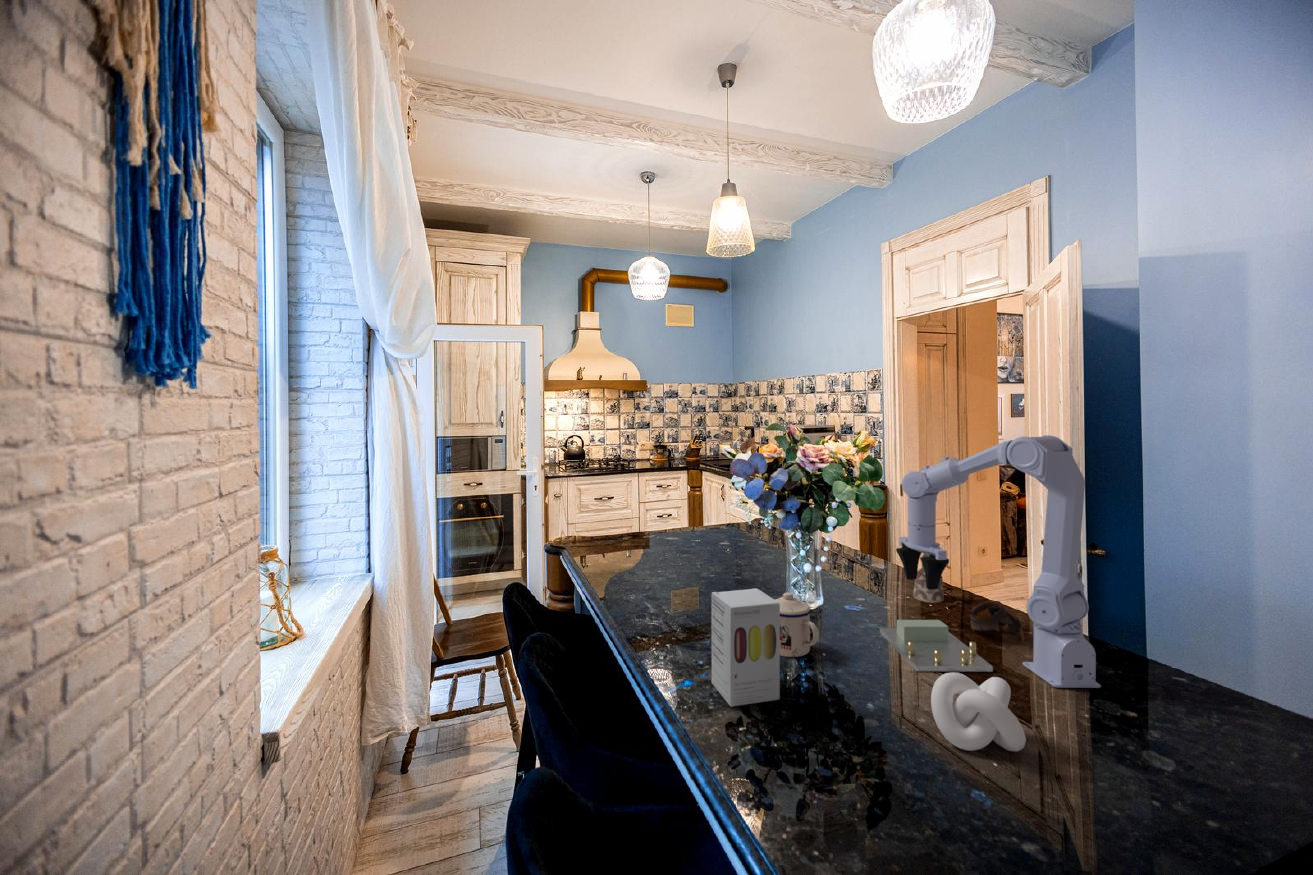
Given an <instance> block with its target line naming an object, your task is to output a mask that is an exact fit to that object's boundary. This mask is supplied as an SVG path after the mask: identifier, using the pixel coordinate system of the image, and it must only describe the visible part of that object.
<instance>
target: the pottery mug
mask: <svg viewBox="0 0 1313 875" xmlns="http://www.w3.org/2000/svg"><path fill="white" fill-rule="evenodd" d="M985 610H987V612H988V613H989V615H990V616H987V617H983V618H982V617H981V618H979V617H978V618H977V617H976V616H977V615H978V614H980V613H981V612H983V611H985ZM970 613H971V614H969V619H970V629H971V631H972V632H976V631H980V632H983V631H990V630H993V631H996V632H1000V628H999V626H1000V627H1004V626H1006V625H1007V627H1008V631H1009V632H1010V633H1016V634H1018V635H1019V636H1020V640H1021V642H1025V639H1026V637H1025V635H1024V629H1023V627H1022V622H1021V621H1020V619H1019V617H1018V615H1017V614H1016V613H1015V612H1014V611H1013V610H1011V609H1010V608H1009V607H1006V606H1005V605H1004V604H1003V603H1002V602H1001V601H999V600H988V601H987V600H986V601H984V602H981V603H979V604H976V606H974V607H973V608H972V609H971V610H970Z"/></svg>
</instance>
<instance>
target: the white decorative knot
mask: <svg viewBox="0 0 1313 875" xmlns="http://www.w3.org/2000/svg"><path fill="white" fill-rule="evenodd" d="M1011 693H1012V692H1011V687H1010V685H1009V683H1008V682H1007V680H1005V679H1003V678H1002V677H999V676H992V677H990V678H987V680H984V682H982V683H981V684H980V685H978V684H977V683H976V682H975V681H973V680H972V679H971V678H969V677H968V676H967V675H965V674H963V673H960V672H945V673H944V674H942V675H940V676H939V677H938V678H937V679H936V680H935V682H934V684H933V687H932V690H931V697H930V705H931V712H932V716H933V719H934V721H935V724H936V726H937V728H938V730H939V731H940V733H941V734H942V735H943V737H944V738H945V739H946V740H947V741H948V742H949V743H950V744H951V745H953V746H954V747H956V748H959V749H960V750H964V751H967V752H968V751H971V752H973V751H978V750H981V749H984V748H985V747H987V746H988V745H989V744H990V743H991V742H992V741H994V743H996V745H998V746H1000V747H1001V748H1003V749H1004V750H1006V751H1008V752H1019V751H1021V750H1022V749H1024V748H1025V744H1026V742H1027V738H1026V735H1025V734H1026V733H1025V731H1024V728H1023V727H1022V724H1021V723H1020V721H1019V719H1018V718H1017V716H1015V715H1014V713H1013V711H1012V710H1011V709H1009V707H1008V706H1009V703H1010V700H1011V695H1012V694H1011ZM957 694H958V695H959V696H958V697H957V698H956V700H955V701H954V698H955V696H956V695H957ZM953 702H954V703H953Z"/></svg>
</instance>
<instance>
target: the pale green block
mask: <svg viewBox="0 0 1313 875" xmlns="http://www.w3.org/2000/svg"><path fill="white" fill-rule="evenodd" d="M896 628H897V634H898V635H899V636H900V637H901V638H902V639H903V640H904V641H948V632H949V626H948V625H947V624H946V623H944V622H943V621H941V620H940V619H897V620H896Z"/></svg>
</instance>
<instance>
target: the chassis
mask: <svg viewBox="0 0 1313 875" xmlns="http://www.w3.org/2000/svg"><path fill="white" fill-rule="evenodd" d="M879 633H880V634H881V635H882V637H883V638H884V639H885V640H886V641H887V642H888V643H889V644H890V645H891V646H892V648H894V649H895V651H897V652H898V654H899V655H900V656H901V657H902V658H903V659H904V660H905V661H906V662H907V663H908V665H910V666H911V667H912V669H914V671H915V672H941V673H942V672H945V673H952V672H954V673H960V672H961V673H962V672H965V673H966V672H967V673H968V672H969V673H971V672H972V673H974V672H975V673H977V672H979V673H982V672H983V673H985V672H986V673H988V672H989V673H991V672H992V673H993V671H994V666H993V665H992V664H991V663H989V662H988V661H987V660H985V659H984V658H983V657H982V656H980V655H979V654H977V642H976V641H969V642H968V645H966V644H965V643H964V642H963V641H961V640H960V639H959V638H957V636H955V635H954V634H953V633H951V632H950V631H948V641H904V640H903V639H902V638H901V637H900V636H899V635H898V634H897V627H896V628H892V627H891V628H888V627H886V628H885V627H884V628H882V627H881V628H879Z"/></svg>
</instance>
